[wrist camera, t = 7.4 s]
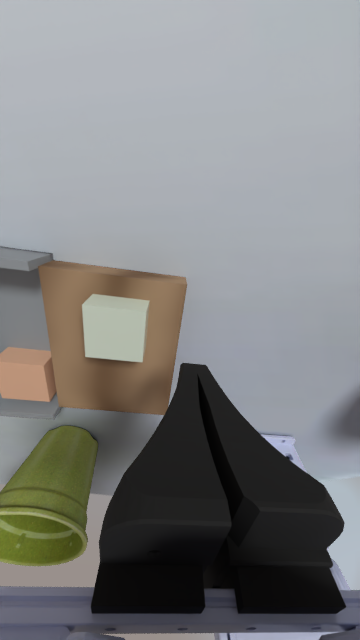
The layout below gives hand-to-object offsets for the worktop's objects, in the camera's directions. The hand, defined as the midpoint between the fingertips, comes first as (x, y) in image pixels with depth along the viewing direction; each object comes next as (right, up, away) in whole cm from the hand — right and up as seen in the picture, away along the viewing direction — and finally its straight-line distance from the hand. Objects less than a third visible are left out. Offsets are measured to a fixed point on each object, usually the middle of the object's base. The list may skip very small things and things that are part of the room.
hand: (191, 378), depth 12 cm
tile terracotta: (-14, -1, +8) cm, 16 cm away
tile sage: (-5, +3, +5) cm, 8 cm away
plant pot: (-13, -11, +14) cm, 22 cm away
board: (-6, +1, +8) cm, 10 cm away
